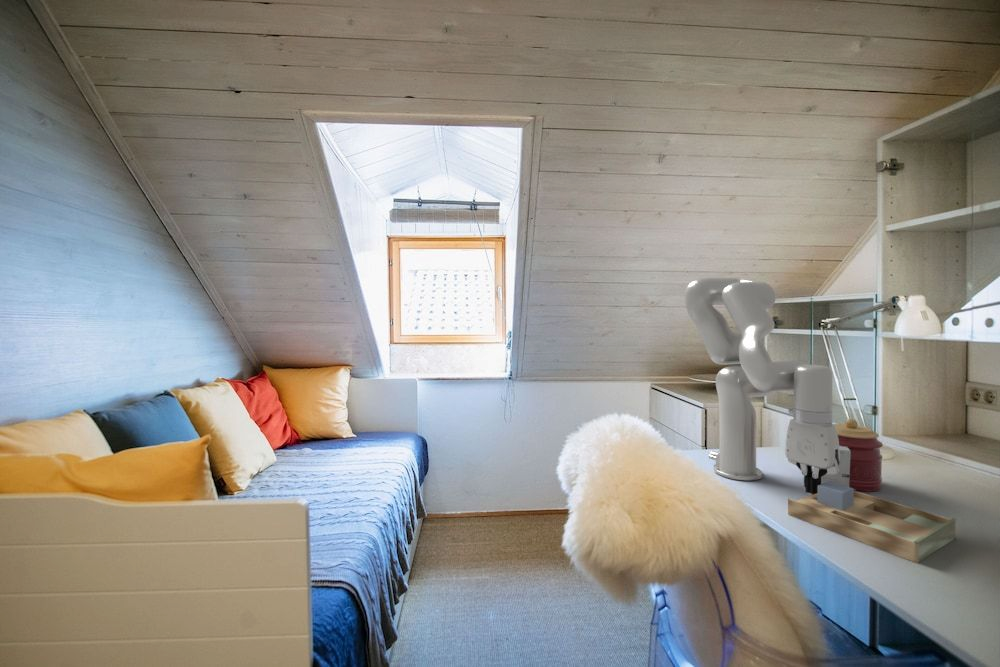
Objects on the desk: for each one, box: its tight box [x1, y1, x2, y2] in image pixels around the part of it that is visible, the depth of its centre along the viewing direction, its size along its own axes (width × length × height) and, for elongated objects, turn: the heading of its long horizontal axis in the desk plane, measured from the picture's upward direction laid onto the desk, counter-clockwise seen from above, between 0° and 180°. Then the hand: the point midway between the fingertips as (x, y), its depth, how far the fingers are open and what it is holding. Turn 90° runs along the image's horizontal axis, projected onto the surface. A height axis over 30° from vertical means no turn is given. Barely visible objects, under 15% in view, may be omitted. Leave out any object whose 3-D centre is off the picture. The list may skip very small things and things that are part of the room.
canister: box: [833, 418, 884, 492], centre depth 119 cm, size 13×13×18 cm
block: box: [817, 482, 855, 511], centre depth 101 cm, size 5×5×4 cm
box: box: [787, 490, 957, 564], centre depth 96 cm, size 23×18×4 cm
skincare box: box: [821, 446, 851, 487], centre depth 113 cm, size 6×4×12 cm
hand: (812, 492), depth 105 cm, fingers closed
